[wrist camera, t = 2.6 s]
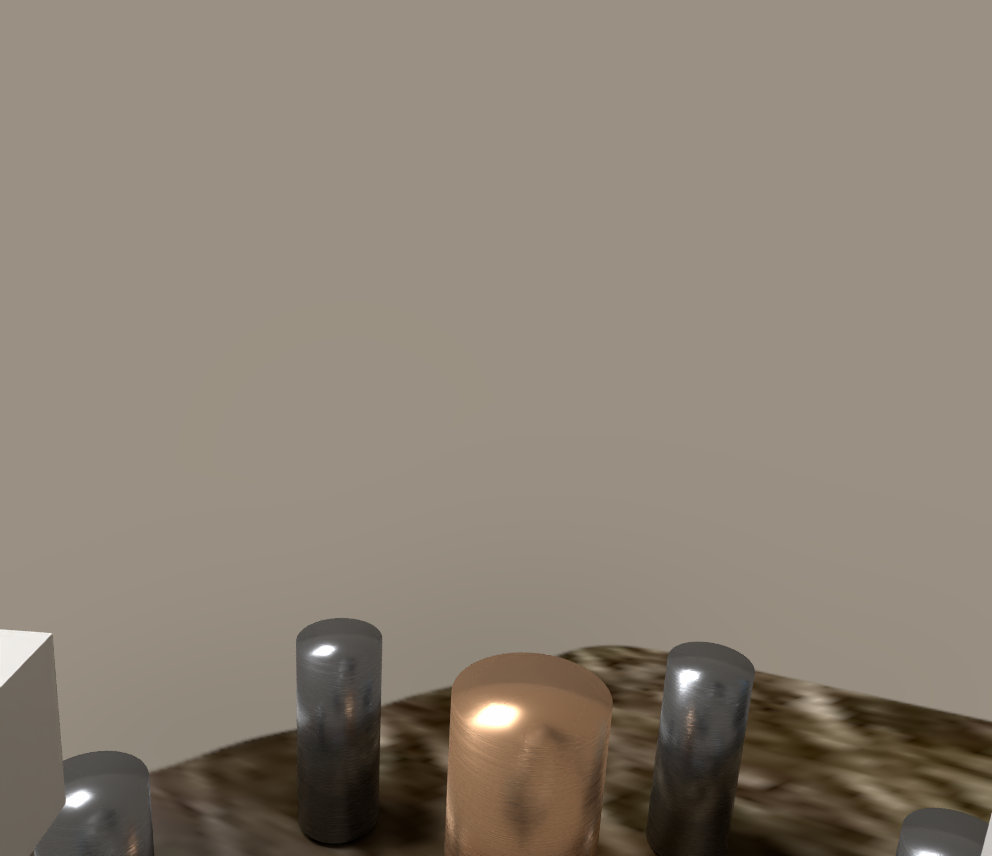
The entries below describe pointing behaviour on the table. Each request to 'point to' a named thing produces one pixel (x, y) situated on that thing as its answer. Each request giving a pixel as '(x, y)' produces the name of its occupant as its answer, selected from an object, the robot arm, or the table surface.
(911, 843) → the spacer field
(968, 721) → the table surface
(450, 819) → the cylinder
